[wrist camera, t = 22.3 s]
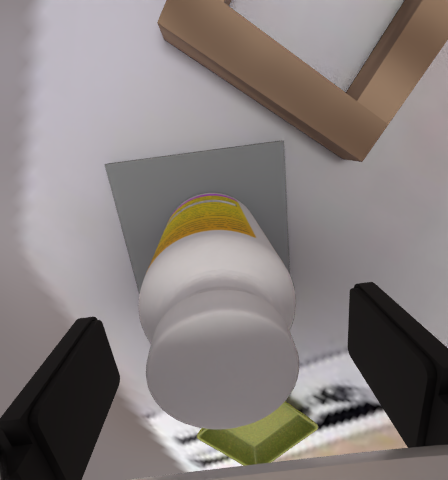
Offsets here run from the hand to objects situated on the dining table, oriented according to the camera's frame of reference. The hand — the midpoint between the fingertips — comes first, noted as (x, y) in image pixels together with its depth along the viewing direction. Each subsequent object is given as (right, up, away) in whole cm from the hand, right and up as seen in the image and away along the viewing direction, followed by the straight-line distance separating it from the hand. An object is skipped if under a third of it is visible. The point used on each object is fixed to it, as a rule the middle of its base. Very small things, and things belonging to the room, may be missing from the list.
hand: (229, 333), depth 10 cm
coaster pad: (-1, +4, +11) cm, 11 cm away
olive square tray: (+3, -14, +18) cm, 23 cm away
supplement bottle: (-1, +4, +10) cm, 11 cm away
